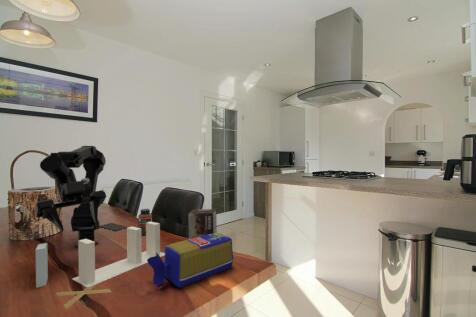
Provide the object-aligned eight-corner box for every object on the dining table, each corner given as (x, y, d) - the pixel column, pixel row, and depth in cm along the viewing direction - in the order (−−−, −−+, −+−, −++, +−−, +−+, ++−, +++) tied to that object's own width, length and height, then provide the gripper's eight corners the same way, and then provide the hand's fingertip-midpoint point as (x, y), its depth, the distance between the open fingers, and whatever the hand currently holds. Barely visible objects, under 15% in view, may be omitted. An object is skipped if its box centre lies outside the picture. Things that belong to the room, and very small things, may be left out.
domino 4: (155, 256, 87) (155, 224, 87) (146, 253, 90) (146, 222, 90) (160, 254, 89) (159, 223, 89) (151, 251, 92) (150, 221, 92)
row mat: (71, 281, 71) (71, 278, 71) (151, 251, 94) (150, 249, 94) (87, 290, 66) (87, 287, 66) (167, 256, 89) (167, 254, 89)
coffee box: (217, 252, 92) (217, 208, 92) (214, 259, 86) (213, 212, 86) (193, 251, 93) (193, 208, 93) (188, 258, 87) (188, 212, 87)
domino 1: (36, 290, 67) (35, 249, 67) (39, 282, 71) (38, 244, 71) (45, 288, 68) (45, 248, 68) (47, 280, 72) (47, 242, 72)
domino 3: (136, 264, 81) (135, 230, 81) (127, 260, 84) (126, 227, 84) (141, 261, 83) (141, 228, 83) (132, 258, 85) (132, 226, 85)
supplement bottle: (139, 236, 112) (138, 211, 112) (137, 233, 117) (137, 208, 117) (153, 234, 114) (152, 209, 114) (151, 231, 120) (150, 207, 120)
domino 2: (87, 283, 68) (87, 243, 68) (78, 279, 71) (78, 240, 71) (95, 280, 70) (94, 241, 70) (86, 276, 73) (85, 238, 73)
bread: (236, 268, 79) (236, 236, 79) (162, 298, 63) (161, 257, 63) (217, 258, 87) (217, 229, 87) (146, 282, 71) (146, 246, 70)
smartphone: (115, 230, 120) (97, 226, 127) (115, 232, 120) (97, 227, 127) (129, 227, 126) (111, 222, 134) (129, 228, 126) (111, 224, 134)
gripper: (33, 174, 71) (46, 223, 66) (103, 167, 85) (118, 206, 80) (30, 194, 78) (41, 240, 72) (95, 184, 92) (109, 222, 86)
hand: (80, 226), depth 77 cm, fingers open, 9 cm apart
